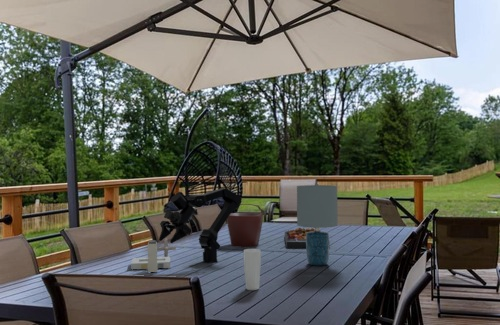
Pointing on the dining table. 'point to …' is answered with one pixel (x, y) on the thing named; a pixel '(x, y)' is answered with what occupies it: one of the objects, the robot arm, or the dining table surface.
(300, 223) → the lamp
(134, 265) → the socket panel
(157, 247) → the pipe connector
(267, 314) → the dining table surface
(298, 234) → the food platter
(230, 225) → the bucket
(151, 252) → the plug
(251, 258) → the drinking glass
